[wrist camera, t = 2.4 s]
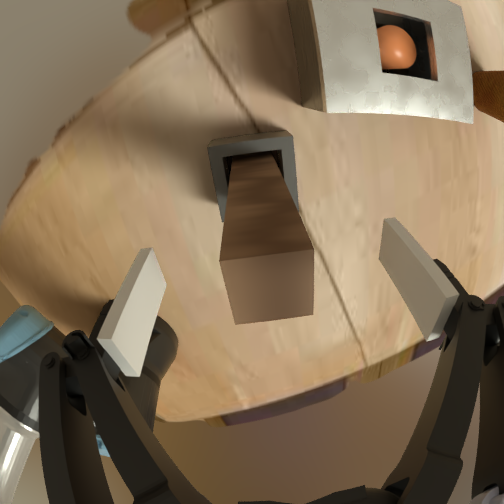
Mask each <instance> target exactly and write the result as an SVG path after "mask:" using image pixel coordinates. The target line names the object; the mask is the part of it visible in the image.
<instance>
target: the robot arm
mask: <svg viewBox="0 0 504 504" xmlns="http://www.w3.org/2000/svg"><path fill="white" fill-rule="evenodd" d="M379 260H380V262H381V263H382V265H383V266H384V268H385V269H386V271H387V273H388V274H389V276H390V277H391V279H392V281H393V282H394V284H395V286H396V287H397V289H398V291H399V292H400V294H401V296H402V298H403V299H404V301H405V303H406V304H407V306H408V308H409V310H410V312H411V313H412V315H413V317H414V319H415V321H416V322H417V324H418V326H419V328H420V330H421V332H422V334H423V336H424V338H425V340H426V341H430V340H433V339H436V338H439V337H440V335H441V333H442V331H443V329H444V331H445V332H446V334H447V335H446V337H445V339H444V340H443V342H442V344H441V346H440V348H439V350H441V348H442V351H441V355H440V358H439V363H438V366H437V369H436V373H435V376H434V379H433V383H432V386H431V388H430V392H429V394H428V397H427V400H426V403H425V406H424V408H423V411H422V413H421V416H420V418H419V421H418V423H417V426H416V428H415V430H414V433H413V435H412V437H411V439H410V442H409V444H408V446H407V448H406V450H405V452H404V454H403V456H402V458H401V460H400V462H399V463H398V465H397V467H396V468H395V469H394V470H393V472H392V473H391V474H390V475H389V477H388V478H387V480H386V482H385V483H384V485H383V486H382V488H381V489H377V488H365V485H363V486H360V487H356V488H352V489H347V490H343V491H338V492H334V493H332V494H330V495H328V496H325V497H323V498H320V499H317V500H315V501H312V502H309V503H307V504H447V502H448V500H449V498H450V496H451V494H452V492H453V489H454V487H455V485H456V482H457V480H458V478H459V475H460V473H461V470H462V467H463V461H462V460H461V458H460V454H461V451H462V448H463V445H464V442H465V439H466V436H467V432H468V429H469V426H470V422H471V418H472V414H473V411H474V406H475V402H476V397H477V393H478V388H479V382H480V423H479V438H478V448H477V457H476V464H475V470H474V476H473V483H472V500H471V501H470V503H469V504H504V296H501V297H499V298H498V300H497V302H496V304H485V303H484V301H483V300H482V299H481V298H479V297H477V296H475V295H468V293H467V292H466V291H465V289H464V288H463V287H462V285H461V284H460V283H459V281H458V280H457V279H456V278H455V277H454V275H453V274H452V273H451V272H450V270H449V269H448V268H447V266H446V265H445V264H444V263H442V262H441V261H439V260H438V259H434V260H432V258H431V257H430V256H429V255H428V254H427V252H426V251H425V250H424V249H423V248H422V247H421V245H420V244H419V243H418V242H417V241H416V240H415V239H414V237H413V236H412V235H411V234H410V233H409V232H408V231H407V230H406V229H405V228H404V226H403V225H402V224H401V223H400V222H399V221H398V220H397V219H396V218H387V219H384V223H383V231H382V239H381V246H380V253H379ZM166 286H167V284H166V282H165V279H164V277H163V274H162V272H161V269H160V266H159V264H158V261H157V259H156V256H155V253H154V251H153V248H152V247H151V248H145V249H140V251H139V253H138V255H137V257H136V258H135V260H134V262H133V264H132V266H131V268H130V270H129V272H128V274H127V276H126V278H125V279H124V281H123V283H122V285H121V287H120V289H119V291H118V293H117V296H116V298H115V299H114V300H109V301H108V302H107V304H106V305H105V306H104V307H103V309H102V311H101V313H100V316H99V317H98V319H97V322H96V323H95V326H94V328H93V330H92V332H91V334H90V337H89V339H88V337H87V336H86V335H85V333H84V332H83V331H81V330H75V331H73V332H71V333H69V334H68V335H67V336H65V335H64V334H63V333H62V332H61V331H59V330H58V329H57V328H56V327H55V326H54V323H53V322H52V321H49V320H47V319H46V318H45V317H44V316H43V315H42V314H41V313H39V312H38V311H37V310H36V309H35V308H34V307H32V306H29V305H23V306H21V307H19V308H18V309H17V310H16V311H15V312H14V313H13V314H12V315H11V316H10V317H9V318H8V319H7V321H6V322H5V323H4V324H3V325H2V326H1V327H0V504H12V500H13V497H14V494H15V491H16V488H17V485H18V482H19V479H20V476H21V474H22V471H23V468H24V465H25V463H26V460H27V457H28V455H29V453H30V451H31V448H32V446H33V443H34V441H35V439H36V438H39V437H40V448H41V458H42V466H43V472H44V478H45V485H46V489H47V495H48V499H49V504H114V502H113V499H112V496H111V493H110V490H109V487H108V483H107V480H106V476H105V473H104V469H103V465H102V462H101V457H100V455H104V456H108V457H111V459H112V461H113V463H114V464H115V466H116V468H117V470H118V472H119V473H120V475H121V477H122V479H123V480H124V482H125V484H126V485H127V487H128V488H129V490H130V492H131V493H132V495H133V497H134V502H133V504H212V503H211V502H210V501H209V500H207V499H206V498H205V497H204V496H203V495H202V494H200V493H199V492H198V491H197V490H196V489H195V488H194V487H193V486H192V485H191V483H190V482H189V481H188V480H187V479H186V477H185V476H184V475H183V474H182V472H181V471H180V470H179V469H178V467H177V466H176V465H175V463H174V462H173V461H172V459H171V458H170V457H169V455H168V454H167V453H166V451H165V450H164V449H163V447H162V446H161V444H160V443H159V441H158V440H157V438H156V437H155V435H154V434H153V427H154V420H155V413H156V407H157V400H158V394H159V388H160V383H161V380H162V378H163V377H164V375H165V374H166V372H167V371H168V369H169V367H170V366H171V364H172V362H173V361H174V360H175V357H176V354H177V349H178V339H177V336H176V334H175V332H174V331H173V329H172V328H171V327H170V326H169V325H168V324H167V323H166V322H165V321H164V320H162V319H161V318H159V317H158V316H157V314H158V310H159V307H160V304H161V301H162V298H163V295H164V292H165V289H166ZM238 504H290V503H281V502H274V501H254V502H238Z"/></svg>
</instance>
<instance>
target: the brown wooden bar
mask: <svg viewBox="0 0 504 504" xmlns="http://www.w3.org/2000/svg"><path fill="white" fill-rule="evenodd" d="M219 262H220V266H221V270H222V274H223V278H224V282H225V286H226V290H227V294H228V298H229V302H230V306H231V310H232V313H233V317H234V321H235V325H237V324H246V323H255V322H264V321H272V320H280V319H287V318H294V317H301V316H308V315H313V306H314V248H313V246H312V243H311V241H310V238H309V236H308V234H307V231H306V229H305V226H304V224H303V222H302V219H301V217H300V215H299V212H298V210H297V208H296V205H295V203H294V201H293V199H292V196H291V194H290V192H289V190H288V188H287V185H286V183H285V181H284V179H283V177H282V174H281V172H280V170H279V168H278V166H277V164H276V162H275V159H274V157H273V155H272V153H271V151H262V152H254V153H246V154H239V155H233V159H232V166H231V173H230V180H229V188H228V195H227V202H226V210H225V218H224V226H223V234H222V243H221V251H220V260H219Z"/></svg>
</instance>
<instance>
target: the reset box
mask: <svg viewBox="0 0 504 504" xmlns="http://www.w3.org/2000/svg"><path fill="white" fill-rule="evenodd" d="M287 4H288V9H289V15H290V20H291V26H292V32H293V38H294V45H295V51H296V58H297V66H298V73H299V81H300V89H301V98H302V107H305V108H309V109H313V110H317V111H321V112H325V113H384V114H401V115H413V116H423V117H432V118H439V119H447V120H453V121H459V122H465V123H470V124H473V81H472V68H471V59H470V51H469V44H468V38H467V32H466V27H465V22H464V17H463V13H462V9H461V6H459V5H457V4H455V3H452V2H450V1H448V0H287ZM386 25H394V26H397V27H400V28H401V29H403V30H404V31H406V32H407V33H408V34H409V36H410V37H411V38H412V40H413V42H414V44H415V47H416V59H415V61H414V63H413V64H412V65H411V66H410V67H408V68H404V69H390V74H389V73H382V66H381V57H380V49H379V42H378V36H377V28H380V27H383V26H386Z"/></svg>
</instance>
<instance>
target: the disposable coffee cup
mask: <svg viewBox="0 0 504 504" xmlns="http://www.w3.org/2000/svg"><path fill="white" fill-rule="evenodd" d="M472 81H473V103H474V105H475V106H476V108H477V109H478V110H480V111H481V112H484V113H486V114H488V115H490V116H492V117H494V118H496V119H498V120H500V121H502V122H504V71H480V72H475V73H474V74H473V75H472Z"/></svg>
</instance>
